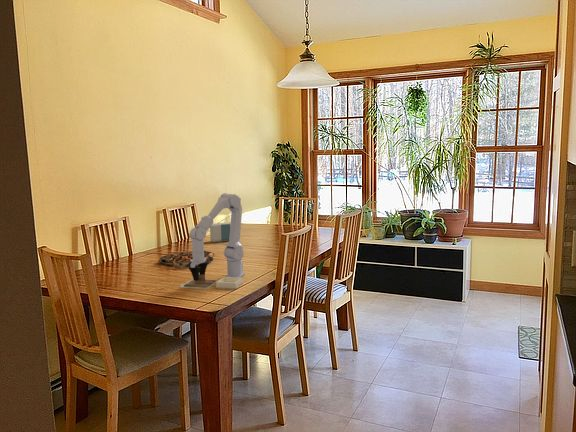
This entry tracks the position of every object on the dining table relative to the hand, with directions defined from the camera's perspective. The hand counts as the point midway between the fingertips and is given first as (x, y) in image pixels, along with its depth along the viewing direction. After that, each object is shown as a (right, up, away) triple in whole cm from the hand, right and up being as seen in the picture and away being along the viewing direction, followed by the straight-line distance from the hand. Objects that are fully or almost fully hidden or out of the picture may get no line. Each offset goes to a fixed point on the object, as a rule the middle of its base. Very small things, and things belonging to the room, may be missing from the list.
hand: (199, 278), depth 242 cm
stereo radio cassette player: (-3, +12, +118) cm, 119 cm away
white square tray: (+16, -3, -3) cm, 16 cm away
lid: (0, -3, 0) cm, 3 cm away
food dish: (-16, +3, +51) cm, 54 cm away
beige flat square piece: (0, -3, 0) cm, 3 cm away
